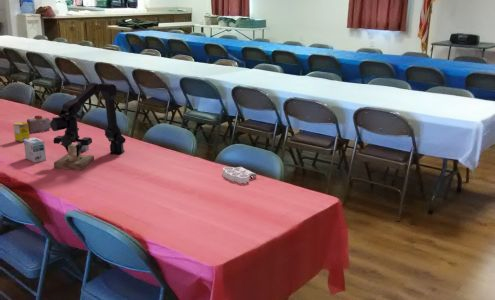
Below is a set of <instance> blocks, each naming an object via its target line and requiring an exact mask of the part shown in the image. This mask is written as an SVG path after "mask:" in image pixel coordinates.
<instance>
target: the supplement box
mask: <svg viewBox="0 0 495 300" xmlns="http://www.w3.org/2000/svg"><path fill="white" fill-rule="evenodd" d="M13 130H14V140H15V142H18V143H21V144H24V139H29V138H31V136H30V132H29V127H28V123H27V122H24V121H19V122H15V123H13Z"/></svg>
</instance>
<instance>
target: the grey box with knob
mask: <svg viewBox="0 0 495 300" xmlns="http://www.w3.org/2000/svg"><path fill="white" fill-rule="evenodd" d="M51 121H52V119H50V118H49V117H48V116H42V115H35V116H34V117H30V118H28V119H26V123H28V127H29V134H30V133H37V132H41V133H42V132H44V131H49V130H52V129H51V126H50V123H51Z"/></svg>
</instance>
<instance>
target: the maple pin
mask: <svg viewBox="0 0 495 300" xmlns="http://www.w3.org/2000/svg"><path fill="white" fill-rule="evenodd" d="M76 145H77V143H76V144H74V143H72V144H71V145H69V146H68V152H67V154H69V161H77V162H78V161H79V160H80V156H78V157H77V147H76Z"/></svg>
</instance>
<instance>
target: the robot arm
mask: <svg viewBox="0 0 495 300" xmlns="http://www.w3.org/2000/svg"><path fill="white" fill-rule="evenodd" d="M117 90H118V89H117V86H116V85H115V84H113V83H109V82H104V83H99V82H91V83H90V84H89V85H88V87H86V88H85V89H84V90H83V91H81V93H79V94H78V95H77V96H76V97H75V98H73V99H70V100H68V101H67V102H65V103H64V104H62V107H61V110H60V112H59V114H58V116H54V117H51V118H52V119H51V123H50V126H51V129H50V130H52V132H57V131H62V130H64V134H63V135H57V136H56V137H54V138H53V140H52V141H53V144H55V145H56V144H57V145H58V144H60V146H62V147H64V148H65V150H66V152H67V153H68V146H69V145H71V144H74V143H76V144H77V145H76V147H77V157H78V156H79V155H81V154H80V153H81V152H82V151H81V149H82V147H83V145H86V146H87V145H88V146H89V145H91V144H92V143H93V139H92V138H91V137H88V136H87V137H82V138H80V135H79V131H80V128H79V126H78V119H80V118H81V117H82V116H81V115H79V114H78V113H79V112H80V111H81V109H82V106H83V105H84V104H85V103H87V102H88V101H89V100H90V98H92V97H93V96H94V95H95V94H96V93H97V92H100V93H101V96H102V98H103V99H104V102H105V111H106V112H105V113H106V118H107V119H106V120H107V121H106V122H107V126H106V127H105V128H104V129H103V131H104V136H105V138H106V139H107V140H108V142H110V144H109V151H110V152H109V154H110V155H122V154H123V153H125V151H126V150H125V148H124V144H125V143H126V138H125V137H124V136H123V135H122V131H121V129H120V127H119V125H118V121H117V111H116V104H115V103H116V101H115V99H116V96H117V92H118V91H117Z"/></svg>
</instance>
